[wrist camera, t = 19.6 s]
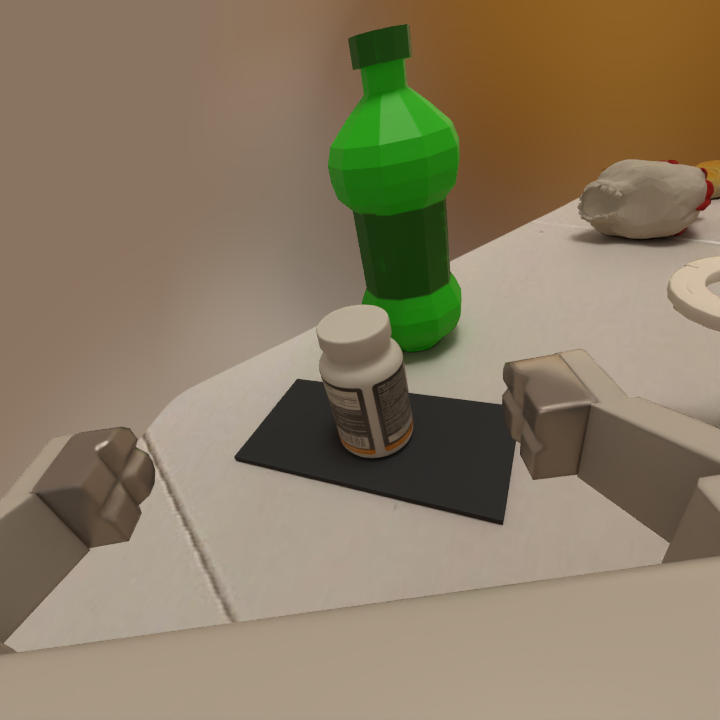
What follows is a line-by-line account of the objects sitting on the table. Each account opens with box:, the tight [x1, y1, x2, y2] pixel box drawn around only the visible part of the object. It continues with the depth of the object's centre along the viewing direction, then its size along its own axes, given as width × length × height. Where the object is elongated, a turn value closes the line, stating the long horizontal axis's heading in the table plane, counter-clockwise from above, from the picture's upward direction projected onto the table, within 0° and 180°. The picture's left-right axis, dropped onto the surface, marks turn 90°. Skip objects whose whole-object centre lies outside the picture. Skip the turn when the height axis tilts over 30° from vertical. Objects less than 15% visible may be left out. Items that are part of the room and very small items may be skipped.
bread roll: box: [695, 160, 720, 199], centre depth 60 cm, size 8×9×4 cm
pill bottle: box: [317, 305, 413, 458], centre depth 29 cm, size 6×6×10 cm
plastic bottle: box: [328, 24, 461, 352], centre depth 35 cm, size 10×10×25 cm
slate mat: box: [235, 379, 516, 524], centre depth 32 cm, size 20×10×1 cm, turn 67°
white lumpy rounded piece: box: [578, 160, 714, 239], centre depth 51 cm, size 9×11×15 cm
